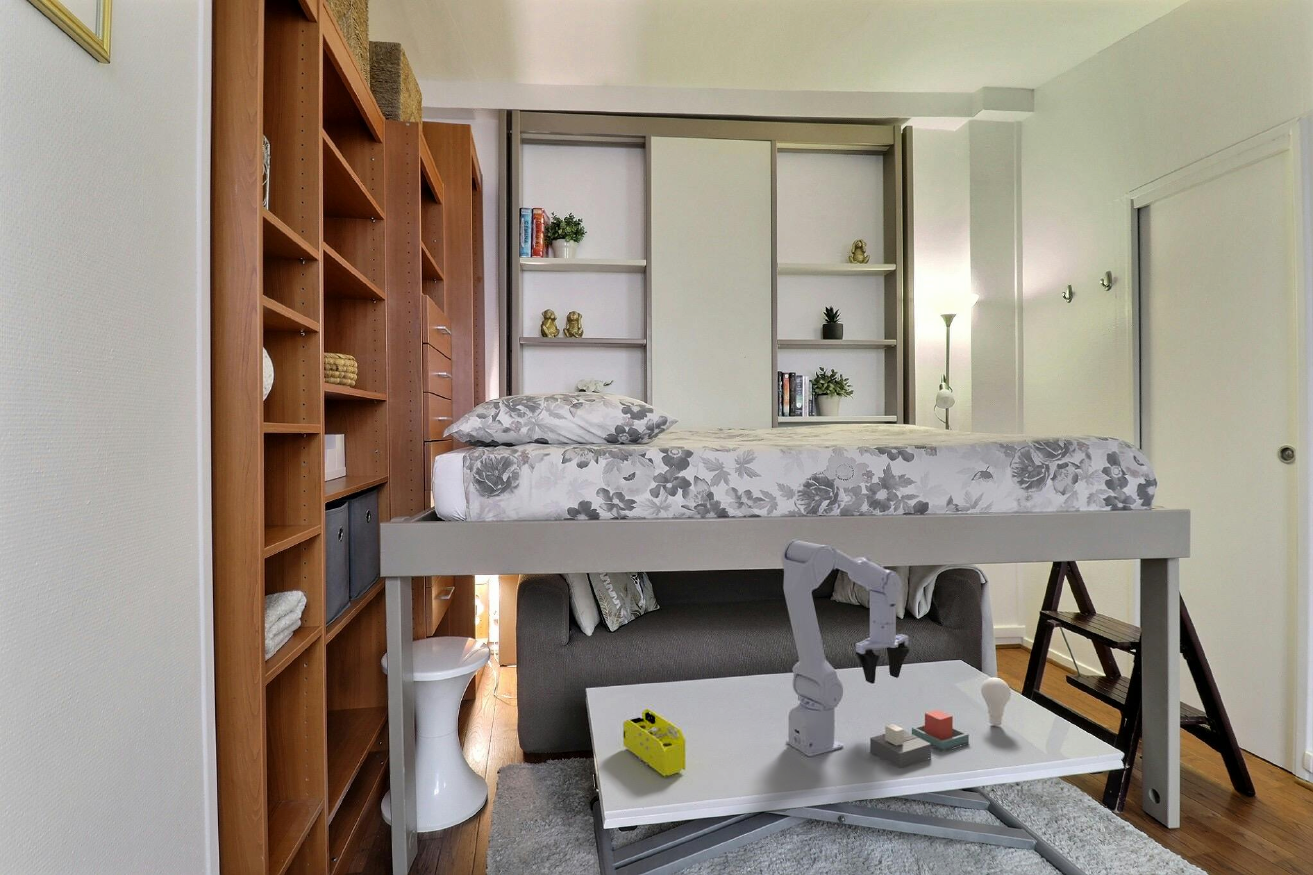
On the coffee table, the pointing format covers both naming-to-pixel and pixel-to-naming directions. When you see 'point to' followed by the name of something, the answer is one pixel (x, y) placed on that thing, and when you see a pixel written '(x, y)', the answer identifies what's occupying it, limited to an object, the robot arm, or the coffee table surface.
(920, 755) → the grey flat block
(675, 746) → the yellow parts caddy
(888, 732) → the switch
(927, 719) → the block
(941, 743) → the tray
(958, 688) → the coffee table surface
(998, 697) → the lightbulb
